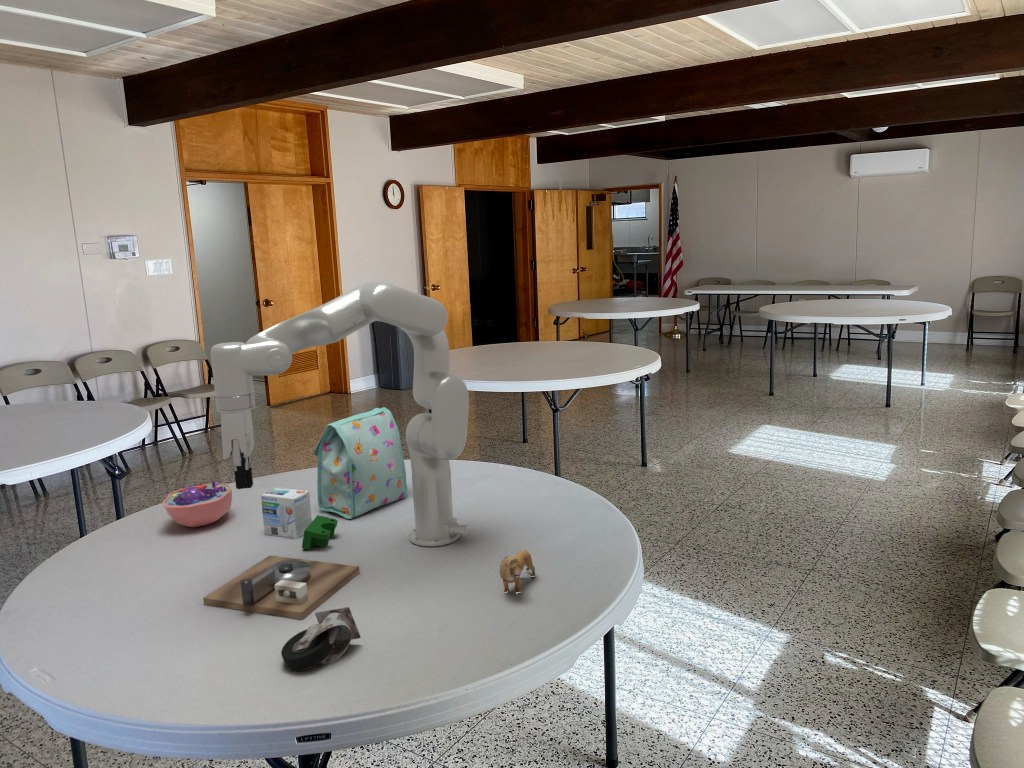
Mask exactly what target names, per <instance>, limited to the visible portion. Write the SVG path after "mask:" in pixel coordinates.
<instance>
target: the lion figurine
mask: <svg viewBox="0 0 1024 768" xmlns="http://www.w3.org/2000/svg"><path fill="white" fill-rule="evenodd" d="M499 565H500V567H499V575H500V579H502V582H503V587H504V589H503V590H502V592H503V591H504V592H507V591H509V592H510V590H509V584H514V593H515V592H520V591H521V586H520V584H521V574H522V572H523V570H524V567H526V569H525V570H526V571H527V572H528V571H531V573H530V575H529V577H530V576H535V575H536V568H535V565H533V559H532V556H531V553H530V552H529V551H527V550H520V551H518V552H516V554H515V556H512V555H507V556H505V557H504V558H503V559H502V560H501V562H500V564H499ZM535 577H536V576H535Z"/></svg>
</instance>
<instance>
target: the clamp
mask: <svg viewBox="0 0 1024 768" xmlns="http://www.w3.org/2000/svg"><path fill="white" fill-rule="evenodd" d="M337 526H338V520H337V519H336V518H333V517H332V518H331V517H327V516H324V515H319V514H317V515H316V516H315V517H314V518H313V520H312V522H311V523H310V525H309V526H308V527H307V528H306V529H305V530H304V535H302V544H301V549H304V550H309V551H311V549H313V548H314V546H319V547H324V548H327V547H328V546H329V543H330V540H333V539H334V537H335V531H336V530H335V529H336V527H337Z"/></svg>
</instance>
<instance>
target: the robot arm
mask: <svg viewBox="0 0 1024 768" xmlns="http://www.w3.org/2000/svg"><path fill="white" fill-rule="evenodd" d="M448 320H449V315H448V311H447V308H446V307H445V306H444V305H443V304H442V303H441V302H440V301H439V300H437V299H435V298H432V297H429V296H428V295H427V296H426V295H424V294H420V293H418V292H414V291H412V290H408V289H407V288H406V289H405V288H403V287H399V286H397V285H394V284H390V283H387V282H366V283H363V284H361V285H358V286H356V287H354V288H352V289H350V290H349V291H347V292H345V293H343V294H341V295H338V297H335V298H334V299H332V300H329V301H328V302H327V301H326V303H323V304H322V305H319V306H317V307H315V308H312V309H310V310H306V311H305V312H303V313H301V314H298V315H295V316H294V317H290V318H288V319H285V320H283V321H281V322H279V323H277V324H274V325H273V326H270V327H269V328H266V329H264V330H263V331H261V332H258V333H257V334H254V335H253V336H251V337H250V338H249V339H247V341H246V342H242V341H232V342H231V341H230V342H220V343H217V344H214V345H213V346H212V347H211V348H210V361H211V370H212V376H213V378H212V379H213V380H212V381H213V389H214V394H215V404H216V405H215V406H216V413H220V416H221V417H220V423H221V425H220V427H221V444H222V457H223V459H224V461H228V460H229V459H230V458H231V456H232V461H233V468H234V470H233V472H234V482H235V489H237V490H240V489H251V488H252V487H253V486H254V479H253V471H252V470H253V468H252V467H251V466H252V465H251V454H252V452H253V449H254V447H255V439H254V428H253V419H252V412H251V411H252V410H254V409H256V399H255V390H254V380H253V376H277V375H282V373H284V372H286V371H287V370H288V369H289V368H290V366H291V364H292V363H293V362H292V361H293V354H295V353H297V352H300V351H302V350H306V349H308V348H309V349H310V348H313V347H319V346H326V345H330V344H334V343H338V342H340V341H341V340H343V339H345V338H346V337H348V336H351V335H352V334H353V333H355V332H357V331H359V330H361V329H363V328H365V327H367V326H368V325H370V324H371V323H374V322H376V321H377V322H380V323H381V322H383V323H386V324H389V325H391V326H395V327H397V328H399V329H400V330H402V331H403V332H404V333H405V334H406V335H407V336H408V338H409V339H410V342H411V344H412V347H413V379H412V380H413V381H412V394H413V395H412V397H413V399H414V401H415V402H416V403H417V404H418V405H419V406H420V407H423V408H425V409H428V410H431V412H422V413H418V414H416V415H414V416H413V417H412V418H411V419H410V420H409V422H408V424H407V426H406V429H405V430H406V431H405V440H406V445H407V449H408V454H409V459H410V466H411V477H412V478H411V482H412V483H411V484H412V497H413V513H414V514H413V515H414V528H413V530H411V532H409V541H410V542H411V543H412V544H415V545H417V546H420V547H440V546H446V545H449V544H452V543H454V542H455V541H457V540H458V539H460V536H467V535H468V534H469V528H468V525H467V524H463V523H461V524H459V523H458V519H457V517H454V514H453V513H454V512H453V511H454V510H453V494H452V493H453V492H452V474H451V473H452V471H451V470H452V469H451V462H450V461H452V460H454V459H456V458H458V457H459V456H460V455H461V454H462V453H463V451H464V449H465V446H466V443H467V439H468V431H469V430H468V428H469V427H468V426H469V425H468V424H469V409H470V408H469V407H470V396H469V395H470V394H469V390H468V387H467V385H466V383H465V382H464V380H463V379H462V378H461V377H460V376H458V375H456V374H454V373H451V372H450V371H451V370H450V345H449V340H448V336H447V334H446V331H445V328H446V326H447V324H448Z"/></svg>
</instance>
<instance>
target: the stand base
mask: <svg viewBox="0 0 1024 768" xmlns="http://www.w3.org/2000/svg"><path fill="white" fill-rule="evenodd" d="M292 560H297V561H304V562H306V563H308V564H309V566H310V574H311V576H310V578H309V580H307V581H306V582H305V583H302V582H295V581H287V580H281V581H279V582H278V583H276V584H275V589H273V590H271V591H270V592H268V593H267V594H266V595H264V596H263V597H261V598H260V599H258V600H257V601H256V602H254V604H253V605H251V606H247V607H245V606H243V602H242V593H241V584H240V581H241V580H243V579H247V578H250V579H252V580H254V579H255V578H257V577H258V576H260V575H261V574H262V572H263V570H264V569H266V568H267V567H269V566H271V565H273V564H276V563H279V562H284V561H292ZM359 574H360V566H359V565H358V566H357V565H350V564H343V563H335V562H324V561H317V560H309V559H301V558H293V557H286V556H285V557H284V556H278V555H268V556H267V557H264V559H262V560H260V561H258V562H257V563H256V564H253V565H252V566H251V567H249V568H248V569H246V570H245V571H243V572H242V573H240V574H238V575H236V576H235V577H234V578H232V579H231V580H229V581H228V582H225V584H222V585H221V586H220V587H218V588H216V589H214V590H213V591H211V592H210V593H209V594H207V595H205V596H204V597H203V598H202V600H203V601H202V602H203V605H204V606H211V607H215V608H216V607H218V608H224V609H230V610H231V609H232V610H237V611H244V612H249V613H255V614H256V613H257V614H263V615H269V616H275V617H276V616H277V617H281V618H286V619H287V618H289V619H295V620H300V621H302V620H303V619H305V618H306V617H308V616H309V615H310V614H311V613H312V612H313V611H314V610H316V609H317V608H318V607H320V606H321V605H322V604H323V603H324V602H325V601H327V600H328V599H329V598H330V597H332V596H333V595H335V593H336V592H338V591H339V590H341V588H343V587H344V586H345V585H347V584H348V583H349V582H350V581H352V579H354V578H355V577H356V576H357V575H359Z"/></svg>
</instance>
